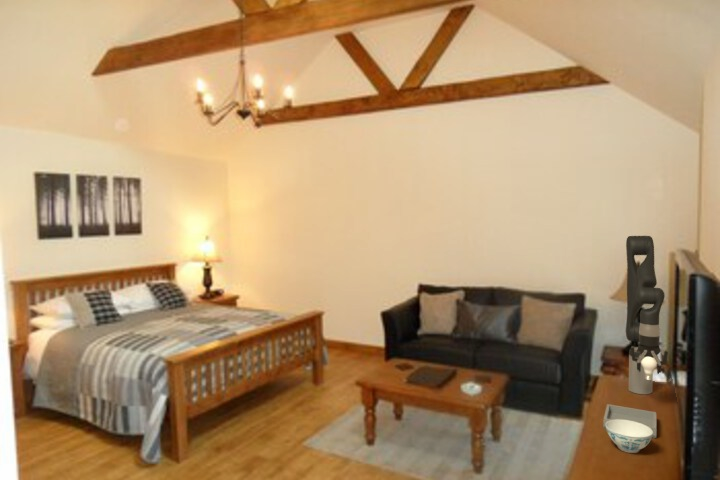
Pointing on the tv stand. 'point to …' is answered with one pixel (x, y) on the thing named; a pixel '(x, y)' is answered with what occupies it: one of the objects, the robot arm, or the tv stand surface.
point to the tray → (631, 416)
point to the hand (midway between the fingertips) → (648, 372)
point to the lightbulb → (648, 366)
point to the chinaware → (629, 434)
